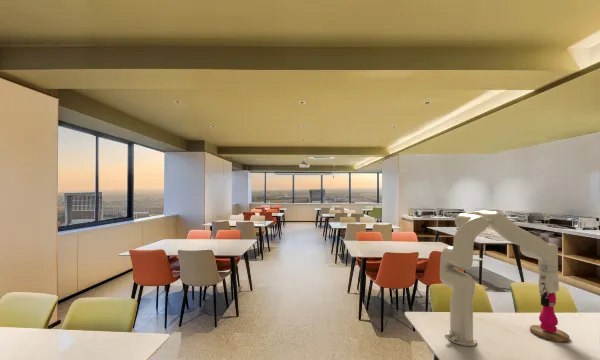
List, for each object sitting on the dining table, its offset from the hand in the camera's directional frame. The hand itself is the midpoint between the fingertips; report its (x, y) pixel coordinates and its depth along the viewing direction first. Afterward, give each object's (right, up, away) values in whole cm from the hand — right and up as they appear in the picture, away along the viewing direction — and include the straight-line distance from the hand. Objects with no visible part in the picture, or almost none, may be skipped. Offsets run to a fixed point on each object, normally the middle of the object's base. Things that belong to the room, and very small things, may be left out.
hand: (548, 304), depth 148 cm
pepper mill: (0, -12, 0) cm, 12 cm away
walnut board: (0, -15, -1) cm, 15 cm away
